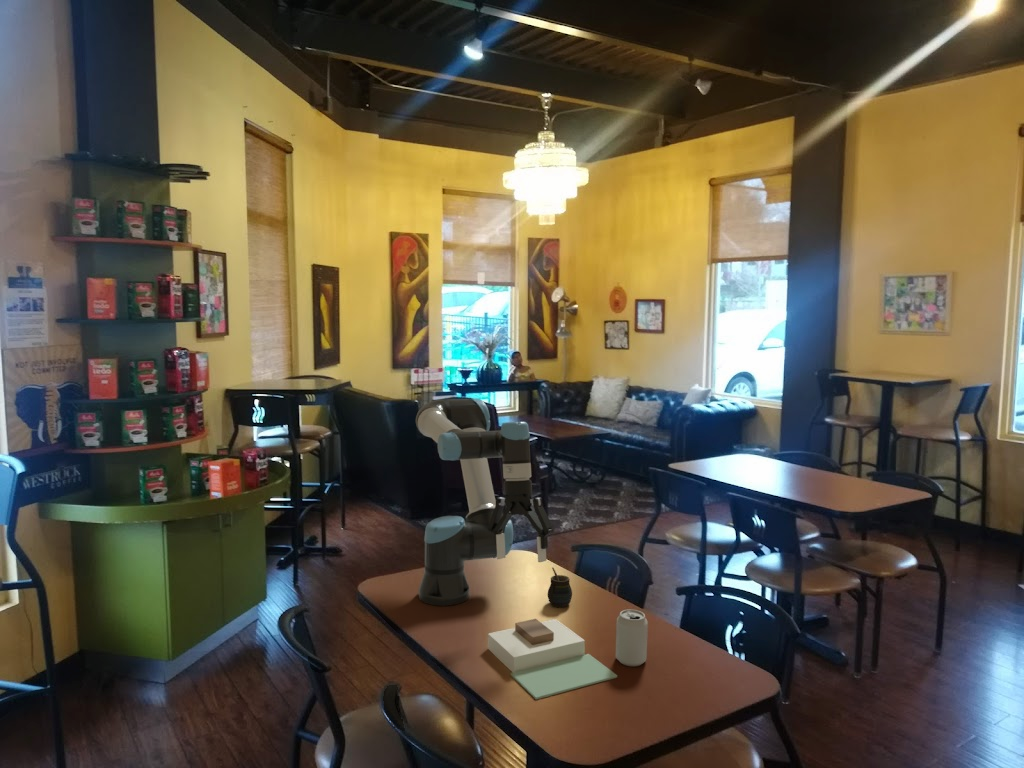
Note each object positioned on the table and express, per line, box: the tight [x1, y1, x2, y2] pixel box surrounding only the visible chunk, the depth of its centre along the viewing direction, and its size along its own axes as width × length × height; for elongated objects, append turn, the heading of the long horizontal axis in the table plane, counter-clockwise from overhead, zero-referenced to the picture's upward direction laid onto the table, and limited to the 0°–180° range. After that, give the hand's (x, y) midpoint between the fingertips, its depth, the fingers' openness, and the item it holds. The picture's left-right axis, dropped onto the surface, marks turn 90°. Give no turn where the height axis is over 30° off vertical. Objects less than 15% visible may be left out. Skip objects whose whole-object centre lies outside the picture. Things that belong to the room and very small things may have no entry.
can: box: [615, 608, 649, 667], centre depth 177 cm, size 8×8×12 cm
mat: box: [510, 653, 618, 701], centre depth 169 cm, size 12×22×1 cm, turn 118°
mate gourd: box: [547, 567, 573, 608], centre depth 211 cm, size 7×8×10 cm
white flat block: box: [487, 618, 586, 673], centre depth 181 cm, size 14×20×4 cm
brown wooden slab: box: [514, 618, 554, 645], centre depth 181 cm, size 9×6×2 cm, turn 28°
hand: (521, 560), depth 191 cm, fingers open, 13 cm apart
